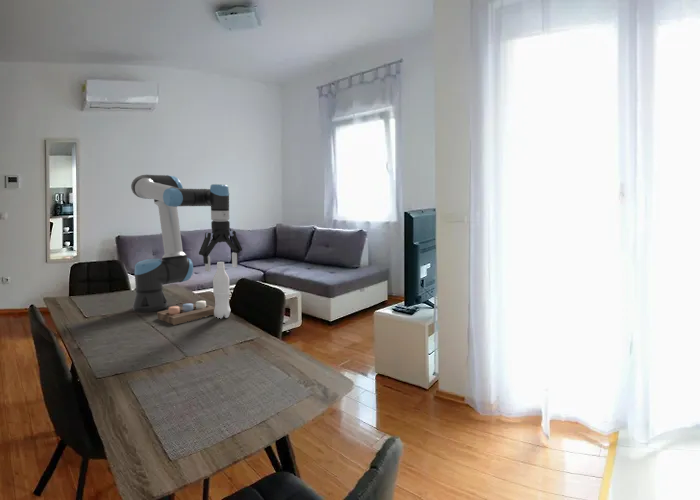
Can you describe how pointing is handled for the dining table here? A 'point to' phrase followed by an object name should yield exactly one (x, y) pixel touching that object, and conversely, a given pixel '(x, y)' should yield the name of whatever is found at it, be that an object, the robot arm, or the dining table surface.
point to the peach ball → (174, 310)
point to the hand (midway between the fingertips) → (221, 269)
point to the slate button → (187, 307)
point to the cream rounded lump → (200, 304)
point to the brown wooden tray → (185, 315)
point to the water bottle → (221, 292)
